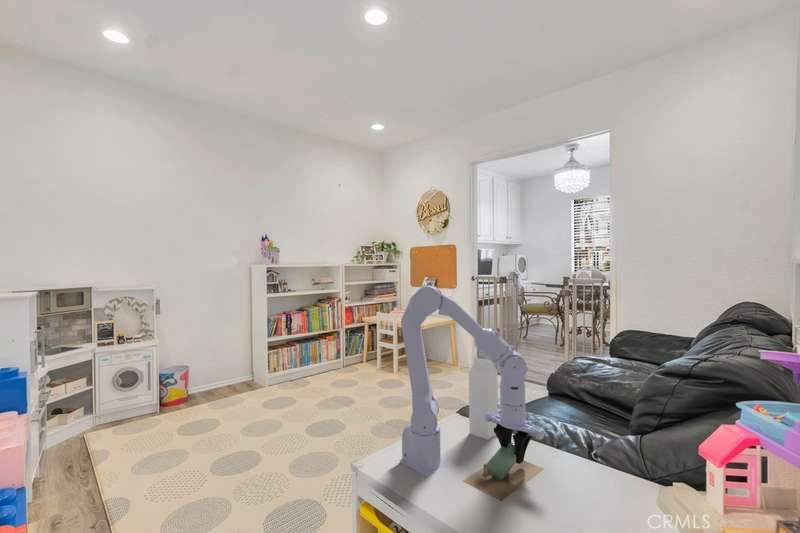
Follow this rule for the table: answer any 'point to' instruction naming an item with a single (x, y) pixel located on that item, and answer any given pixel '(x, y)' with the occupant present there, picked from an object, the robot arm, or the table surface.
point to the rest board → (509, 483)
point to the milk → (482, 397)
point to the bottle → (502, 462)
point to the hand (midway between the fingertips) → (513, 459)
